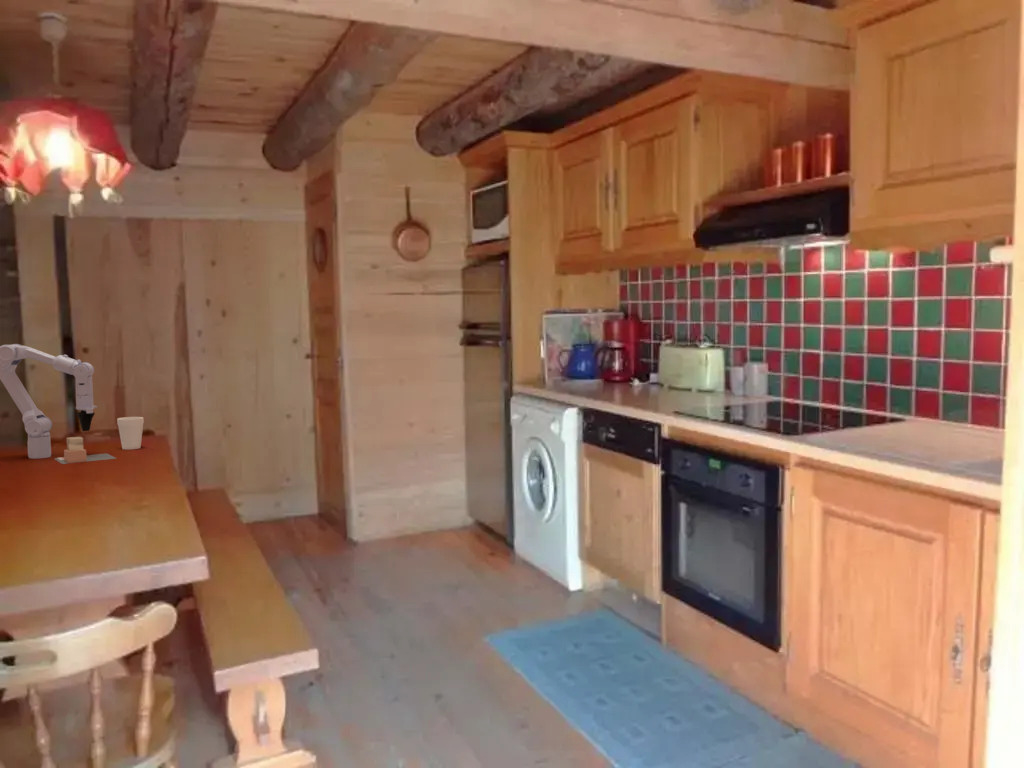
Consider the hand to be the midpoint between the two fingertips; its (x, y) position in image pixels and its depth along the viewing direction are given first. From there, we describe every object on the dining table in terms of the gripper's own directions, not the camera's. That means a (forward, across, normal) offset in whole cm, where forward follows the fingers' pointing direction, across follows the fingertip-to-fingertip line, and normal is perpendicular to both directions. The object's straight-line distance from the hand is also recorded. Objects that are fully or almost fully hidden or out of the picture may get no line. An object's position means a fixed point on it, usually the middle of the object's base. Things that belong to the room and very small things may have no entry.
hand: (85, 430), depth 300 cm
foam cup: (+11, +8, -18) cm, 22 cm away
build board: (+10, -6, +2) cm, 12 cm away
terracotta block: (+9, -10, +6) cm, 15 cm away
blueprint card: (+9, -2, +6) cm, 12 cm away
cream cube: (+5, -10, +6) cm, 13 cm away
